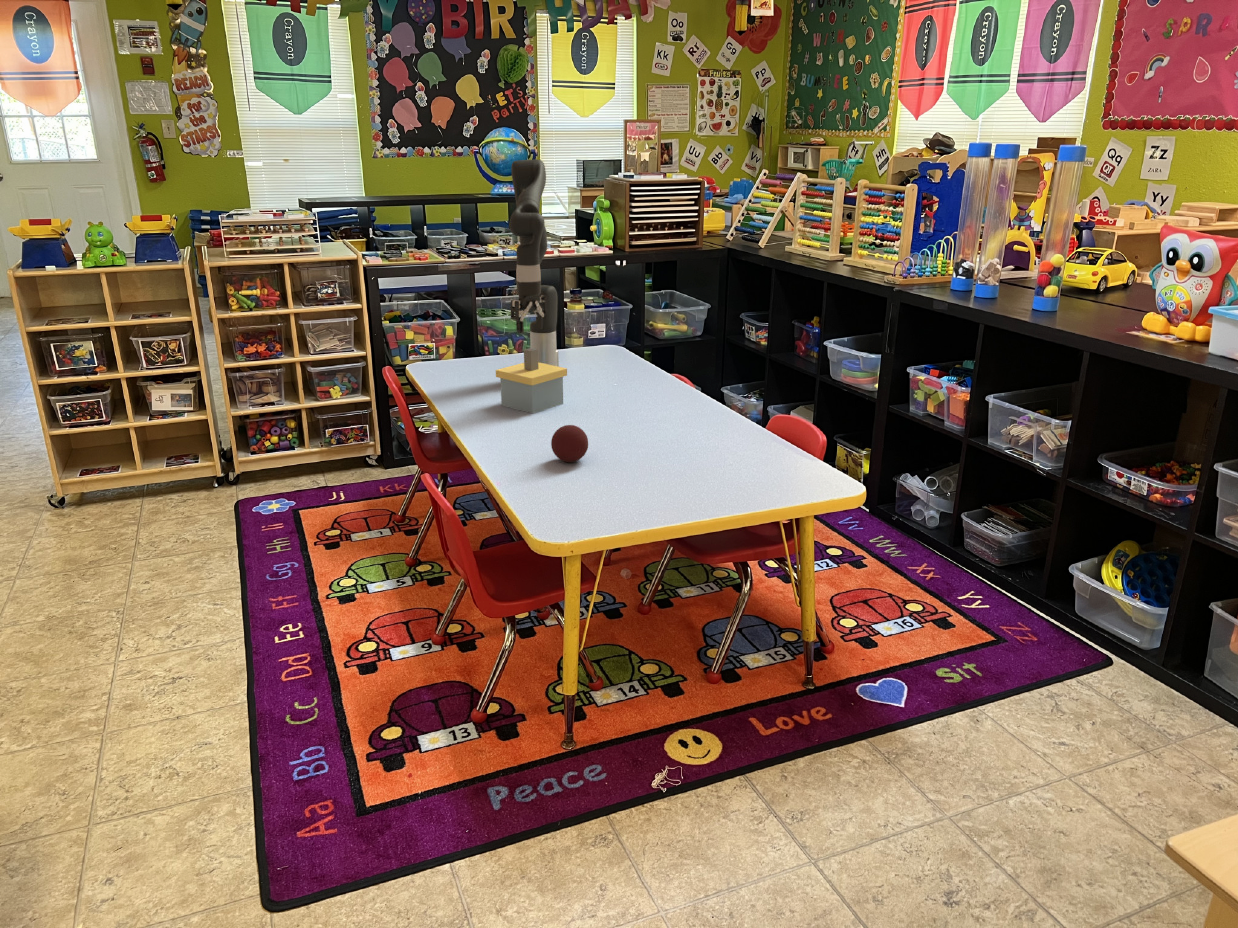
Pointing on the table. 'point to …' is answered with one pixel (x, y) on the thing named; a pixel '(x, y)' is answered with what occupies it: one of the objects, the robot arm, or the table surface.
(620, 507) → the table surface
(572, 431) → the decorative ball
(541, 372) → the lid
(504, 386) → the box
